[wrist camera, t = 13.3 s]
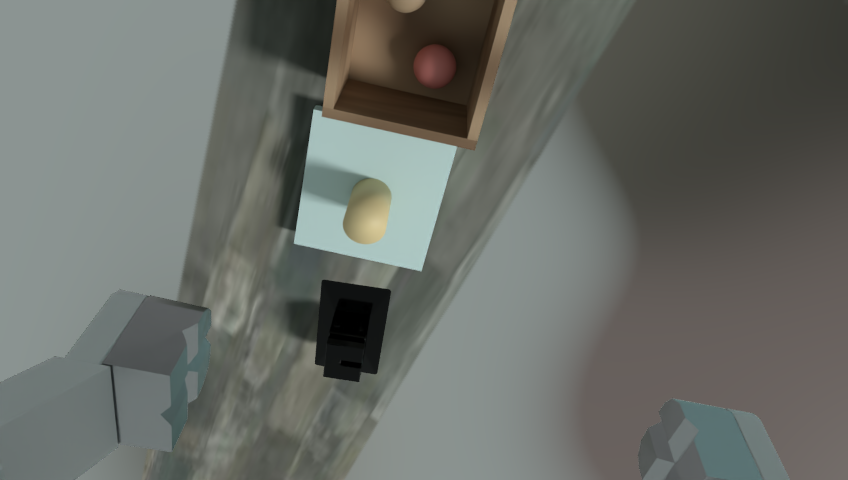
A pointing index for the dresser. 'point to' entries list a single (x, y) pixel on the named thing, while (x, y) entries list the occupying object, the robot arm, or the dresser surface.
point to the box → (394, 74)
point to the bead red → (434, 66)
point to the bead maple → (405, 5)
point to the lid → (371, 192)
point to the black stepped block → (350, 329)
